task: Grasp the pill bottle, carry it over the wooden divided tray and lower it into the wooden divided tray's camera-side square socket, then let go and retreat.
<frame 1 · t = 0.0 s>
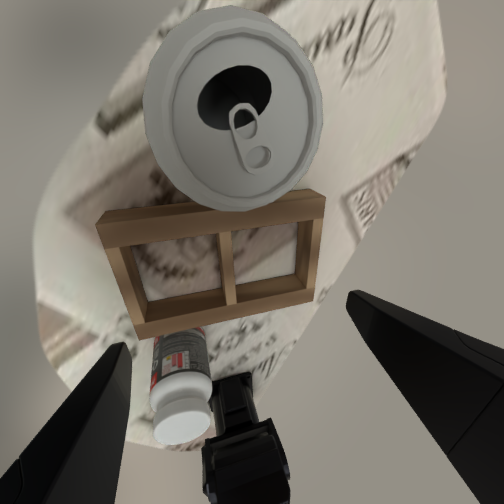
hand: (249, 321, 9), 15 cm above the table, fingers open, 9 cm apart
can: (209, 124, 19), on the table
wooden divided tray: (223, 256, 25), on the table
pill bottle: (180, 335, 28), on the table
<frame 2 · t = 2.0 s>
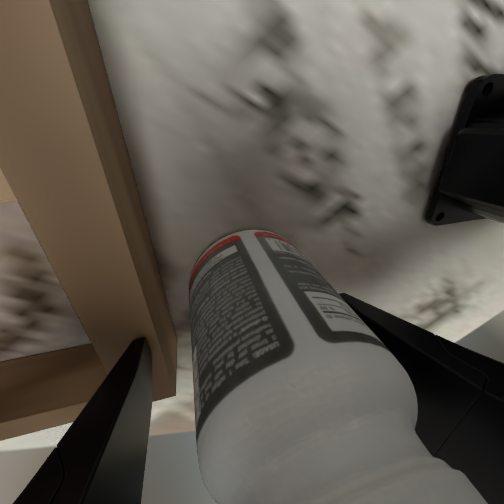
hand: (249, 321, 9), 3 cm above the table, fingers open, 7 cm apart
pill bottle: (246, 276, 12), on the table
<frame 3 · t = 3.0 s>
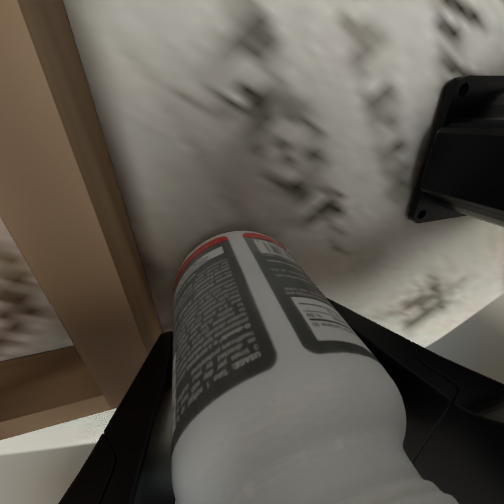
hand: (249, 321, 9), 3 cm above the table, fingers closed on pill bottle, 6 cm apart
pill bottle: (235, 278, 12), on the table, touching gripper
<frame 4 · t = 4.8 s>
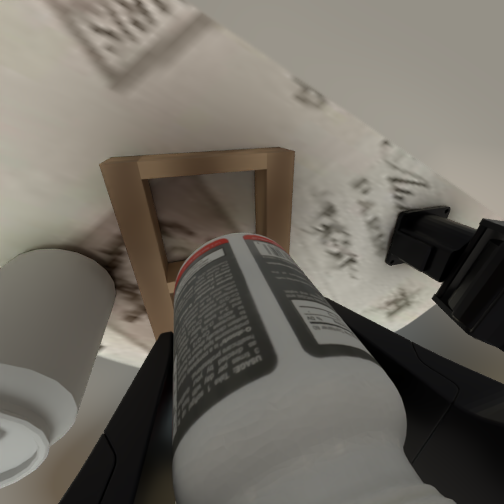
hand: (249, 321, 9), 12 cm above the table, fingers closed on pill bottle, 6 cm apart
can: (66, 283, 19), on the table
wooden divided tray: (214, 260, 22), on the table
pill bottle: (235, 279, 12), point 9 cm above the table, touching gripper
when the fingers open (4 cm above the table, at t = 6.7 s): pill bottle drops 1 cm, on the table.
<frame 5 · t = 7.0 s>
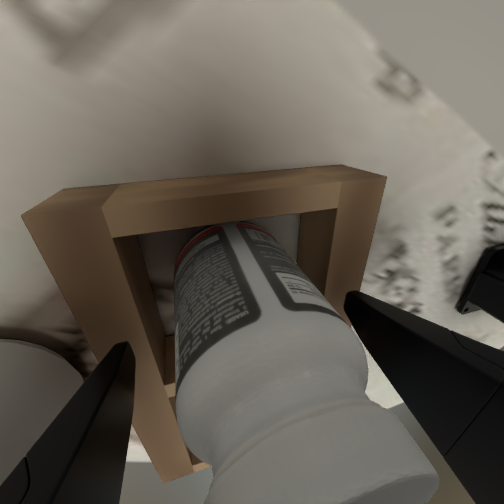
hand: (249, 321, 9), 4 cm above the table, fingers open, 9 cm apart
can: (7, 376, 12), on the table
wooden divided tray: (234, 327, 15), on the table
pill bottle: (229, 266, 13), on the table
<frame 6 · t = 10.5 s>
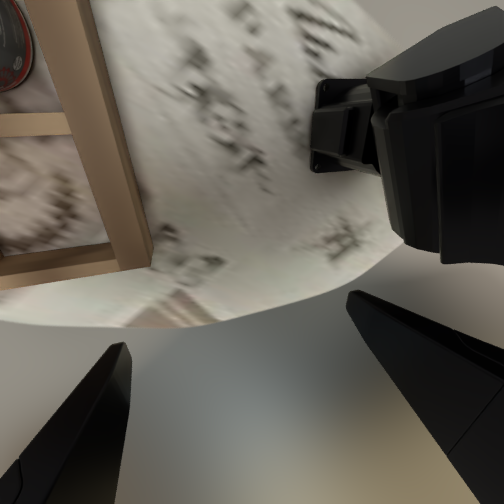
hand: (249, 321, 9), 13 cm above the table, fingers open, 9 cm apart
wooden divided tray: (10, 125, 14), on the table
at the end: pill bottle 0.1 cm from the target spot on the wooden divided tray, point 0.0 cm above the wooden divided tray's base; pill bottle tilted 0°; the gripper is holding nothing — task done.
